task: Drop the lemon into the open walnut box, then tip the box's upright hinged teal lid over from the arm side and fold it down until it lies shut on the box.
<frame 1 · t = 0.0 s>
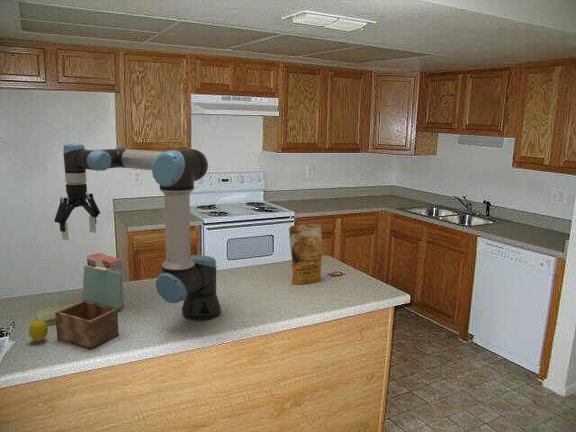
hand: (79, 235, 188), 28 cm above the counter, fingers open, 13 cm apart
box: (88, 337, 163), on the counter
pancake mix bag: (305, 281, 225), on the counter
lemon: (39, 342, 159), on the counter
washcloth: (62, 318, 179), on the counter
lid: (100, 286, 165), point 17 cm above the counter, hinge at 98.0°
cracker box: (106, 307, 189), on the counter
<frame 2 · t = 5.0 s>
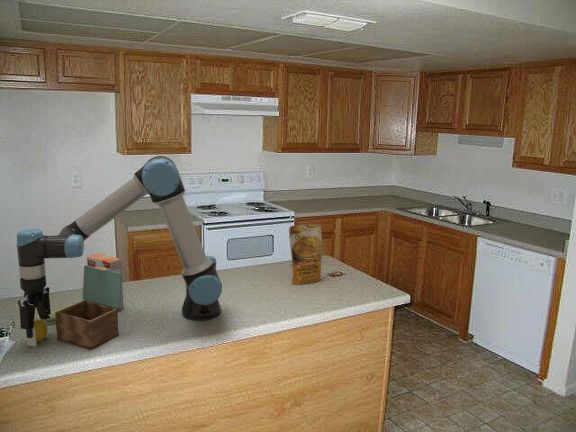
hand: (38, 341, 159), 0 cm above the counter, fingers closed on lemon, 5 cm apart
lemon: (38, 342, 159), on the counter, touching gripper
everything else where it was.
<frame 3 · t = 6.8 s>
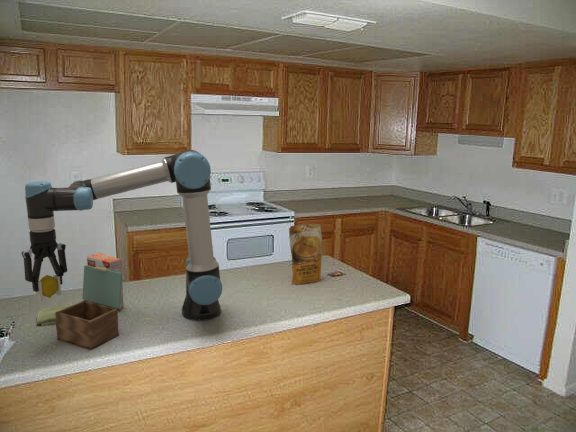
hand: (49, 296, 156), 16 cm above the counter, fingers closed on lemon, 5 cm apart
lemon: (49, 298, 156), point 15 cm above the counter, touching gripper
everything else where it was.
when the fingers open (12 cm above the counter, at t = 8.4 s): lemon drops 10 cm, resting on box.
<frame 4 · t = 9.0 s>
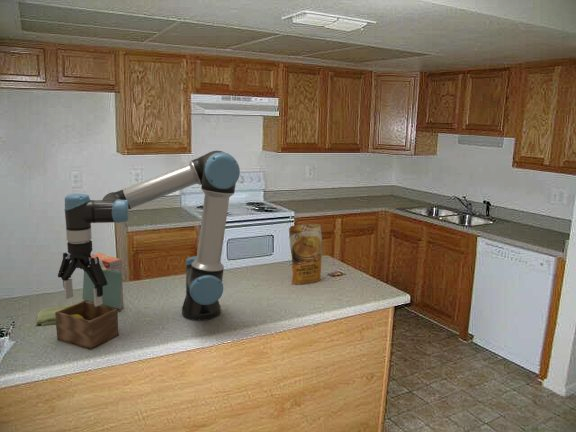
hand: (83, 301, 159), 14 cm above the counter, fingers open, 13 cm apart
lemon: (84, 334, 162), point 2 cm above the counter, touching box
everything else where it was.
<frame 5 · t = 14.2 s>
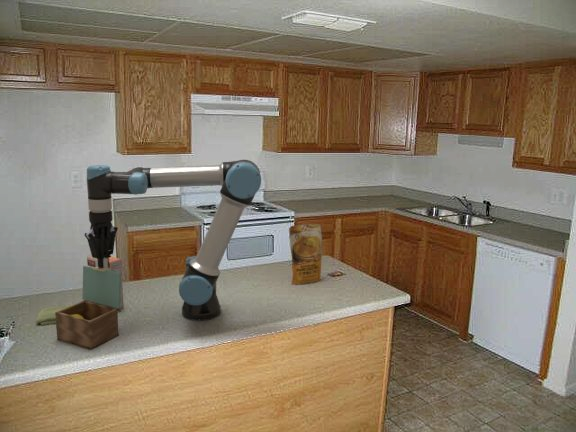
hand: (104, 275, 166), 20 cm above the counter, fingers closed
lid: (99, 286, 165), point 17 cm above the counter, hinge at 95.8°, touching gripper
everything else where it was.
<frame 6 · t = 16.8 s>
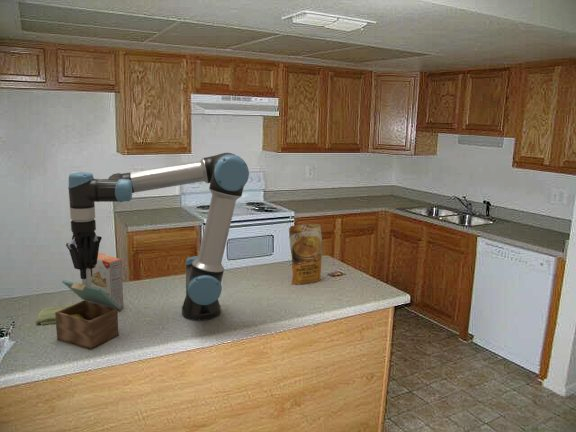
hand: (87, 286, 160), 18 cm above the counter, fingers closed
lid: (89, 295, 161), point 15 cm above the counter, hinge at 49.1°, touching gripper
everything else where it was.
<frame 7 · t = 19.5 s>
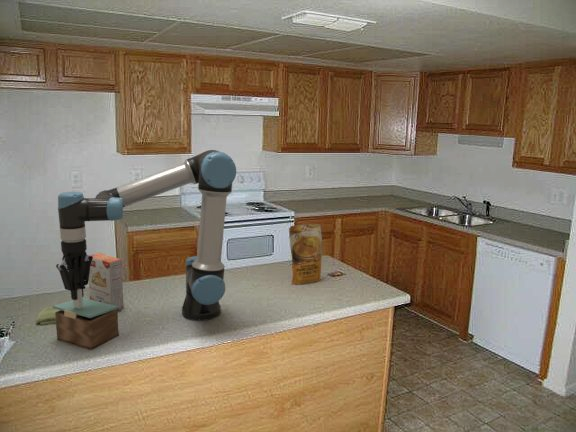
hand: (78, 307, 157), 12 cm above the counter, fingers closed
lid: (85, 309, 160), point 11 cm above the counter, hinge at 6.0°
everything else where it was.
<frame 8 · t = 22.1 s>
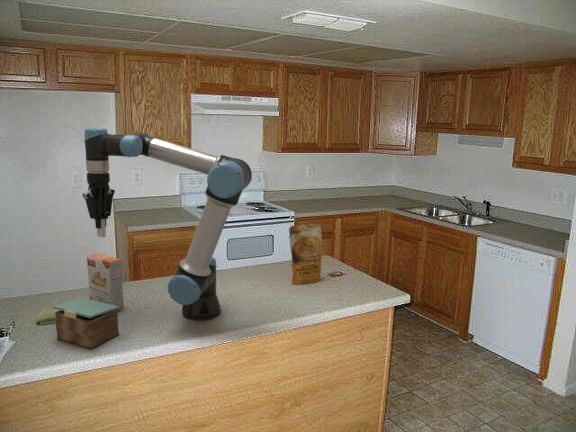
hand: (101, 236, 171), 32 cm above the counter, fingers closed
nothing on the counter moved.
at the end: lid at +6° (first picture: +98°); lemon inside the target area on the box (1.3 cm from its centre), point 1.7 cm above the box's base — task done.
